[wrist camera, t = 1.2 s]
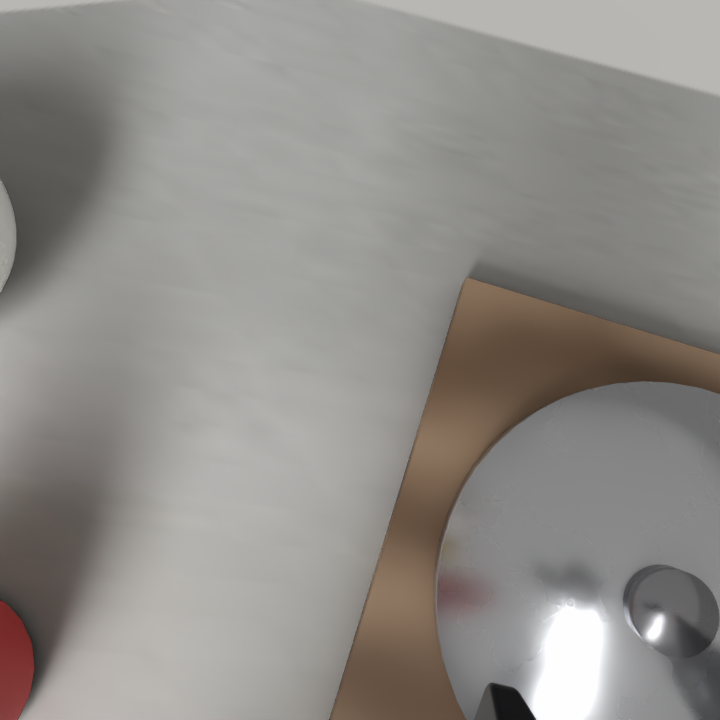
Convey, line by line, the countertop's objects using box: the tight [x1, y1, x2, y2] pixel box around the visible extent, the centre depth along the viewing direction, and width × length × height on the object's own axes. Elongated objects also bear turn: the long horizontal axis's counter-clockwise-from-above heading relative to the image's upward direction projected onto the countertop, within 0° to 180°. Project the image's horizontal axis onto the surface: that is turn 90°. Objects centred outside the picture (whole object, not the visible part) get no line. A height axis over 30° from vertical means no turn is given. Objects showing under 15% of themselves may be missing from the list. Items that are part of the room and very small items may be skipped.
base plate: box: [329, 277, 720, 720], centre depth 23 cm, size 21×21×2 cm
